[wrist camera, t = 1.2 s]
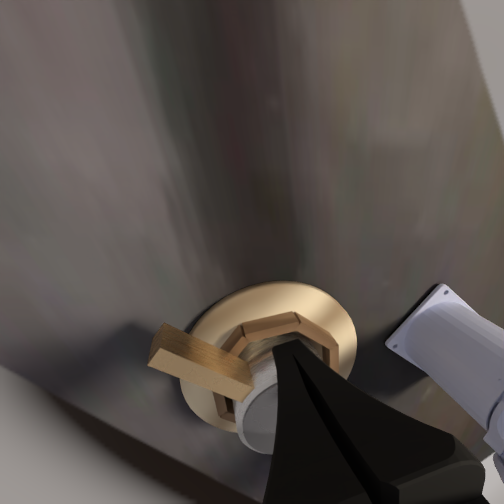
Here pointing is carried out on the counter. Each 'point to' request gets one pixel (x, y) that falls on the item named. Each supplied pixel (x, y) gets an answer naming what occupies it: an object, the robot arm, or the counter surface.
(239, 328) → the board
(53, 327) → the counter surface
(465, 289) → the counter surface
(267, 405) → the milk pan
